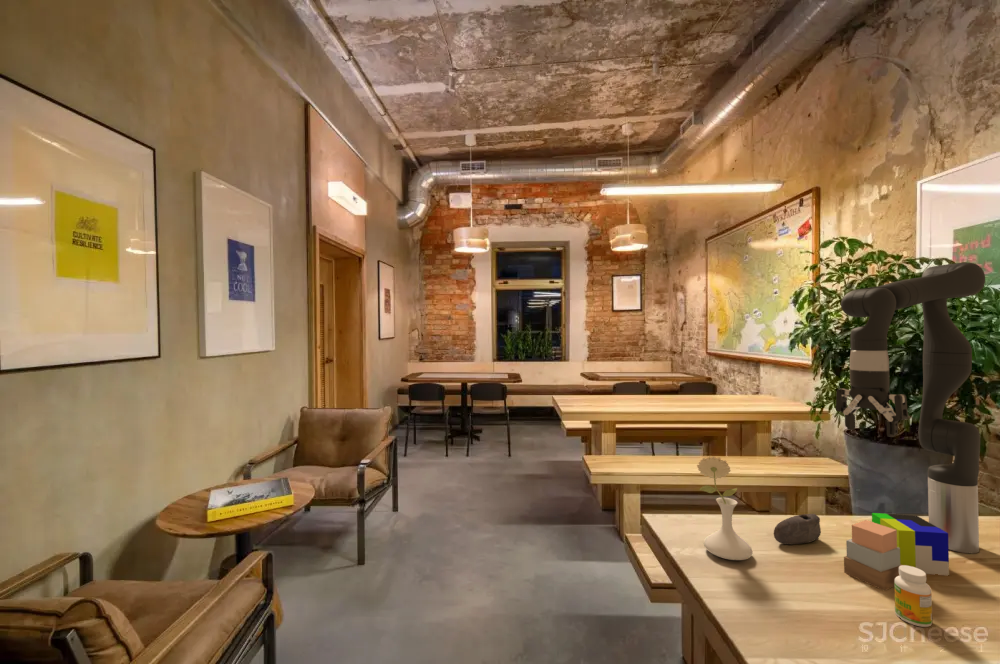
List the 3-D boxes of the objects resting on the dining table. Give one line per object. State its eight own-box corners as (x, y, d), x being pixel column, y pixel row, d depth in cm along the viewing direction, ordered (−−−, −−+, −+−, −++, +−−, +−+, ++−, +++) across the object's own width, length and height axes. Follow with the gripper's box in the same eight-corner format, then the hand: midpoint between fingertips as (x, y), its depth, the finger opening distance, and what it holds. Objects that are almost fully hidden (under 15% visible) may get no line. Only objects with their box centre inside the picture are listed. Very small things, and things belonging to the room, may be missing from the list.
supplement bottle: (887, 611, 89) (886, 564, 89) (911, 609, 90) (910, 562, 90) (914, 628, 84) (913, 578, 84) (940, 626, 84) (939, 577, 84)
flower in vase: (757, 552, 113) (755, 457, 113) (746, 570, 105) (744, 467, 105) (705, 537, 122) (703, 448, 122) (690, 552, 114) (689, 458, 114)
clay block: (866, 536, 105) (865, 519, 105) (896, 547, 100) (896, 530, 100) (852, 541, 103) (851, 524, 103) (882, 553, 97) (882, 535, 97)
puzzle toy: (949, 575, 101) (948, 533, 101) (899, 572, 103) (898, 530, 103) (917, 554, 111) (916, 515, 111) (872, 551, 113) (871, 512, 113)
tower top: (865, 551, 106) (865, 534, 106) (900, 565, 99) (899, 548, 99) (846, 556, 103) (846, 540, 103) (880, 571, 97) (880, 554, 97)
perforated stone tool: (782, 550, 114) (781, 523, 114) (766, 540, 120) (765, 515, 120) (828, 543, 118) (828, 518, 118) (811, 534, 123) (810, 510, 123)
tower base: (864, 566, 106) (863, 549, 106) (904, 583, 99) (904, 565, 99) (844, 573, 103) (843, 556, 103) (884, 591, 96) (884, 573, 96)
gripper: (913, 369, 103) (914, 437, 103) (846, 365, 116) (847, 425, 116) (895, 371, 100) (896, 441, 100) (828, 367, 113) (830, 428, 113)
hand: (870, 432), depth 108 cm, fingers open, 8 cm apart
